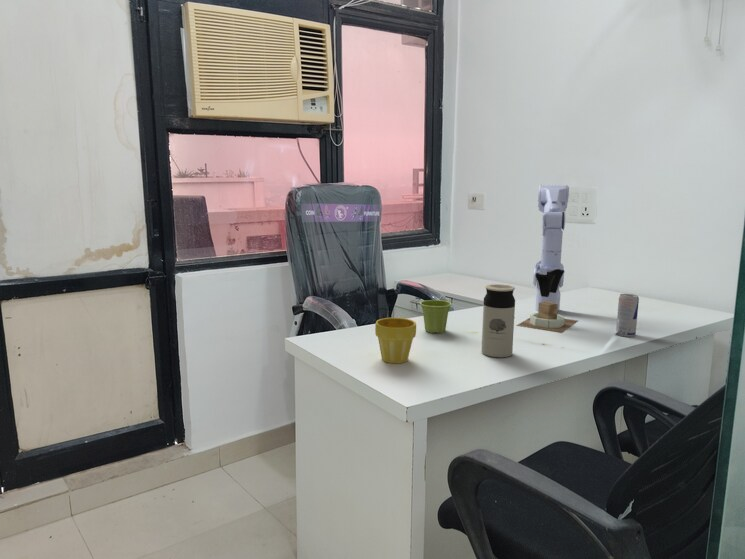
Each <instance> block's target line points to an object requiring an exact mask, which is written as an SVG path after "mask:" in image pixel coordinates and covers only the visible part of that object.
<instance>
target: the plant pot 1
mask: <svg viewBox="0 0 745 559" xmlns="http://www.w3.org/2000/svg"><path fill="white" fill-rule="evenodd" d="M374 325H375V328H374V331H375V336H376V337H377V340H378V344H379V351H380V357H381V360H382V361H383V362H386V363H388V364H403V363H406V362H407V361H408V360H409V357H410V353H411V348H412V343H413V340H414V338H416V337H417V336H416V334H417V322H416V321H414V320H412V319H409V318H405V317H384V318H380V319H377V320H376V322H375V324H374Z"/></svg>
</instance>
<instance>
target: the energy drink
mask: <svg viewBox="0 0 745 559" xmlns="http://www.w3.org/2000/svg"><path fill="white" fill-rule="evenodd" d="M639 300H640V299H639V295H636V294H633V293H620V294H619V296H618V305H617V306H618V307H617V315H616V316H617V317H616V326H615V332H616V333H615V334H616V335H617V336H620V337H623V336H624V337H623V338H634V337H635V336H636V334H637V324H638V323H637V322H638V312H639V303H640V302H639Z"/></svg>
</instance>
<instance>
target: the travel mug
mask: <svg viewBox="0 0 745 559" xmlns="http://www.w3.org/2000/svg"><path fill="white" fill-rule="evenodd" d="M484 288H485V289H486V294H485V296H484V297H483V306H482V307H483V311H482V332H481V353H482V354H484V355H485V356H488V357H491V358H496V357H499V358H502V357H503V358H507V357H511V356H512V354H513V349H514V346H513V345H514V333H515V332H514V328H515V309H516V299H515V296H514V291H515V289H516V288H515V286H512V285H509V284H503V283H501V284H500V283H497V284H496V283H495V284H493V283H492V284H486V285H485V287H484Z"/></svg>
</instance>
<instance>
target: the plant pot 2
mask: <svg viewBox="0 0 745 559" xmlns="http://www.w3.org/2000/svg"><path fill="white" fill-rule="evenodd" d="M419 304H420V306H421V309H422V315H423V322H424V325H423V326H424V330H425V332H427V333H431V334H434V333H438V334H442V333H445V332H446V329H447V322H448V316H449V312H450V307H451V306H452V303H451V302H450V301H448V300H440V299H429V300H422V301H420V302H419Z"/></svg>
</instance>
